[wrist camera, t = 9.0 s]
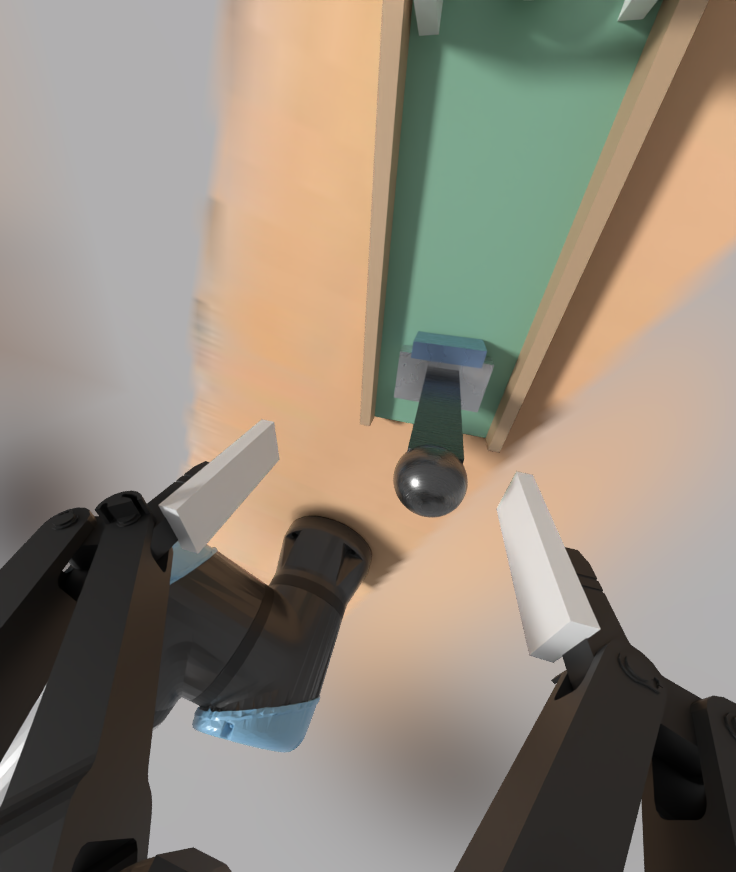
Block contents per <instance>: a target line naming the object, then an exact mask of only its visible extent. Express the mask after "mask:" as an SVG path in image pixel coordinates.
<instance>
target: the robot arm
mask: <svg viewBox="0 0 736 872" xmlns="http://www.w3.org/2000/svg"><path fill="white" fill-rule="evenodd" d="M278 460H279V453H278V446H277V439H276V433H275V426H274V422H272V421H267V420H261V421H259V422H258V423H257V424H256V425H255V426H253V427H252V428H251V429H250V430H248V431H247V432H246V433H245V434H244V435H242V436H241V437H240V438H239V439H238V440H236V441H235V442H234V443H233V444H232V445H230V446H229V447H228V448H227V449H226V450H224V451H223V452H222V453H221V454H219V455H218V456H217V457H216V458H215V459H213V460H212V461H211V462H207V461H205V462H203V463H201V464H199V465H197V466H194V467H193V468H192V469H190V470H189V471H188V472H187V473H185V474H184V476H182V477H180V478H179V479H178V480H177V481H176V482H174V483H173V484H172V485H170V486H169V487H168V488H167V489H165V490H164V491H163V492H161V493H160V494H159V495H158V496H157V497H155V498H154V499H152V500H151V501H150V502H149V503H146V502H145V500H144V498H143V497H142V495H141V494H140V493H138V492H136V491H125V492H121V493H117V494H114V495H112V496H110V497H108V498H106V499H105V500H104V501H102V502H101V503H100V504H99V505H98V506H97V507H96V509H95V511H96V512H97V514H98V515H99V516H94V515H93V514H92V513H91V512H90V510H88V509H86V508H73V509H69V510H66V511H63V512H61V513H59V514H57V515H55V516H53V517H52V518H50V519H49V520H48V521H46V522H45V523H44V524H43V525H42V526H41V527H40V528H39V529H38V530H37V531H36V532H35V533H34V534H33V535H32V536H31V538H30V539H29V540H28V541H27V542H26V543H25V544H24V545H23V546H22V547H21V548H20V549H19V550H18V551H17V552H16V553H15V554H14V555H13V557H12V558H11V559H10V560H9V561H8V562H7V563H6V564H5V565H4V566H3V567H2V568H1V569H0V872H231V870H230V869H229V867H228V866H227V865H226V864H224V863H223V862H221V861H219V860H217V859H215V858H213V857H211V856H209V855H207V854H205V853H203V852H201V851H199V850H197V849H195V848H188V849H183V850H179V851H173V852H169V853H163V854H158V855H156V856H155V857H152V858H149V859H147V855H148V845H149V834H150V825H151V814H152V796H151V790H150V786H149V782H148V764H149V756H150V748H151V739H152V731H153V730H154V729H156V728H157V727H158V726H159V725H160V724H161V723H162V722H163V720H164V719H165V718H166V717H167V715H168V714H169V712H170V711H171V710H172V708H173V707H174V705H175V704H176V702H177V701H178V700H179V699H180V698H181V697H183V698H185V699H187V700H189V701H192V702H193V703H196V704H197V705H199V706H200V707H198V708H197V710H196V712H195V717H194V720H193V724H192V725H193V728H194V729H196V730H198V731H200V732H203V733H206V734H209V735H212V736H215V737H219V738H223V739H227V740H231V741H233V742H237V743H240V744H244V745H248V746H253V747H257V748H261V749H267V750H271V751H278V752H290V751H292V750H294V749H295V748H297V747H298V746H299V745H300V744H301V742H302V741H303V739H304V737H305V735H306V732H307V729H308V727H309V724H310V721H311V719H312V716H313V713H314V711H315V708H316V705H317V704H318V702H319V700H320V692H321V688H322V685H323V682H324V678H325V675H326V672H327V668H328V665H329V662H330V658H331V655H332V652H333V648H334V645H335V642H336V639H337V635H338V632H339V628H340V625H341V622H342V618H343V615H344V612H345V609H346V606H347V604H348V602H349V601H350V599H351V598H352V596H353V595H354V593H355V592H356V590H357V589H358V587H359V586H360V584H361V583H362V581H363V580H364V578H365V577H366V575H367V573H368V571H369V567H370V563H371V559H372V554H371V550H370V548H369V546H368V545H367V543H366V542H365V541H364V539H363V538H362V537H361V536H360V535H358V534H357V533H356V532H355V531H353V530H352V529H350V528H349V527H347V526H345V525H343V524H341V523H339V522H337V521H334V520H331V519H327V518H323V517H316V516H308V517H302V518H299V519H297V520H295V521H294V522H293V523H292V525H291V526H290V528H289V529H288V531H287V533H286V535H285V537H284V540H283V545H282V549H281V553H280V557H279V561H278V566H277V570H276V573H275V575H274V577H273V579H272V581H271V583H270V584H269V586H268V585H266V584H265V583H264V582H262V581H261V580H259V579H258V578H256V577H255V576H253V575H252V574H250V573H249V572H247V571H246V570H244V569H243V568H242V567H240V566H239V565H237V564H236V563H234V562H233V561H231V560H230V559H228V558H227V557H225V556H224V555H223V554H221V553H220V552H218V550H217V549H216V548H215V547H210V546H208V545H207V543H208V542H209V540H210V539H211V538H212V537H213V536H214V535H215V534H216V532H217V531H218V530H219V529H220V528H221V527H222V525H223V524H224V523H225V522H226V521H227V520H228V518H229V517H230V516H231V515H232V514H233V513H234V511H235V510H236V509H237V508H238V507H239V506H240V505H241V503H242V502H243V501H244V500H245V499H246V498H247V496H248V495H249V494H250V493H251V492H252V491H253V489H254V488H255V487H256V486H257V485H258V484H259V482H260V481H261V480H262V479H263V478H264V477H265V475H266V474H267V473H268V472H269V471H270V470H271V469H272V467H273V466H274V465H275V464H276V463H277V462H278ZM497 513H498V518H499V522H500V526H501V531H502V535H503V540H504V544H505V549H506V553H507V558H508V562H509V567H510V571H511V576H512V580H513V585H514V589H515V593H516V598H517V602H518V607H519V611H520V616H521V620H522V624H523V629H524V634H525V638H526V643H527V647H528V651H529V655H530V656H533V657H536V658H540V659H543V660H546V661H549V662H553V663H554V662H555V661H556V660H558V659H560V658H561V657H562V656H563V660H564V663H565V666H566V669H567V670H566V671H564V672H562V673H561V674H559V675H557V676H556V677H555V678H554V679H552V680H551V681H552V682H553V683H554V684H556V683H557V684H556V686H555V688H554V690H553V691H552V693H551V695H550V697H549V699H548V701H547V702H546V704H545V706H544V708H543V710H542V712H541V714H540V715H539V717H538V719H537V721H536V722H535V724H534V726H533V728H532V730H531V732H530V734H529V735H528V737H527V739H526V741H525V743H524V745H523V746H522V748H521V750H520V752H519V754H518V755H517V757H516V759H515V761H514V763H513V765H512V767H511V769H510V770H509V772H508V774H507V776H506V777H505V779H504V781H503V783H502V785H501V787H500V789H499V790H498V792H497V794H496V796H495V798H494V799H493V801H492V803H491V805H490V807H489V809H488V811H487V812H486V814H485V816H484V818H483V820H482V821H481V823H480V825H479V827H478V829H477V831H476V832H475V834H474V836H473V838H472V840H471V842H470V843H469V845H468V847H467V849H466V851H465V853H464V855H463V856H462V858H461V860H460V862H459V864H458V866H457V867H456V869H455V871H454V872H623V870H624V866H625V862H626V858H627V854H628V850H629V846H630V842H631V838H632V834H633V830H634V826H635V822H636V818H637V814H638V810H639V806H640V802H641V799H642V822H643V846H644V866H645V867H644V869H645V872H736V703H734V702H731V701H730V700H728V699H726V698H724V697H718V696H711V697H708V698H705V699H701V698H699V697H698V696H696V695H694V694H692V693H691V692H689V691H687V690H685V689H684V688H682V687H680V686H678V685H677V684H675V683H673V682H672V681H670V680H668V679H666V678H665V677H663V676H662V675H661V674H660V672H659V671H658V670H657V668H656V667H655V666H654V664H653V663H652V662H651V661H650V660H649V659H648V658H647V657H646V656H645V655H644V654H643V653H642V652H640V651H639V650H637V649H636V648H635V647H633V646H632V645H631V644H630V643H629V641H628V639H627V638H626V636H625V633H624V631H623V629H622V627H621V626H620V623H619V621H618V619H617V618H616V616H615V613H614V611H613V609H612V608H611V606H610V603H609V601H608V600H607V597H606V595H605V594H604V593H603V592H602V591H603V589H602V587H601V586H600V583H599V582H598V581H597V577H596V576H595V573H594V571H593V569H592V568H591V565H590V564H589V562H588V561H587V560H586V559H585V558H584V557H583V556H582V554H581V553H580V552H579V551H578V550H575V549H570V548H566V547H564V545H563V542H562V540H561V538H560V536H559V533H558V531H557V529H556V527H555V524H554V522H553V520H552V517H551V515H550V513H549V510H548V508H547V506H546V504H545V502H544V499H543V497H542V495H541V492H540V490H539V488H538V486H537V483H536V481H535V479H534V476H533V475H531V474H526V473H522V472H517V471H516V473H515V475H514V477H513V479H512V481H511V482H510V485H509V486H508V488H507V490H506V492H505V494H504V496H503V498H502V499H501V501H500V503H499V505H498V507H497ZM68 562H69V563H70V564H71V565H70V566H69V568H68V569H67V570H66V571H65V572H63V571H62V570H63V569H64V567H65V566H66V565H67V563H68ZM42 691H43V695H42V696H41V697H40V698H39V696H40V694H41V692H42ZM38 698H39V699H38ZM37 699H38V700H37Z"/></svg>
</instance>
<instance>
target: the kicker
mask: <svg viewBox="0 0 736 872" xmlns="http://www.w3.org/2000/svg"><path fill="white" fill-rule="evenodd" d="M486 354H487V349H486V347H485V344H484V341H483V340H482V339H474V338H467V337H459V336H451V335H444V334H436V333H428V332H421V331H418V333H417V335H416V337H415V339H414V341H413V346H410V345H403V347H402V349H401V351H400V356H399V363H398V370H397V378H396V385H395V392H394V398H399V399H405V400H410V401H416V402H419V404H418V409H417V413H416V417H415V421H414V425H413V430H412V434H411V438H410V442H409V446H408V451H407V452H406V453H405V454H404V455H403V456H402V457H401V458H400V460H399V461H398V463H397V465H396V468H395V471H394V478H393V481H394V488H395V491H396V494H397V496H398V498H399V500H400V501H401V502H402V504H403V505H404V506H405V507H406V508H407V509H409V510H410V511H412V512H413V513H415V514H418V515H420V516H424V517H440V516H443V515H446V514H448V513H450V512H452V511H453V510H454V509H456V508H457V507H458V506H459V504H460V503H461V502H462V500H463V498H464V496H465V494H466V490H467V474H466V471H465V468H464V466H463V461H464V451H463V433H462V414H461V410H466V411H472V412H478V410H479V407H480V404H481V401H482V398H483V396H484V393H485V390H486V387H487V385H488V382H489V379H490V376H491V373H492V371H493V368H494V363H493V360H492V358H491V357H488V356H486Z"/></svg>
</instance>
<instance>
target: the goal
mask: <svg viewBox="0 0 736 872" xmlns="http://www.w3.org/2000/svg"><path fill="white" fill-rule="evenodd" d="M657 1H658V0H625V1H624V4H623V6H622V9H621V12H620V15H619V18H618V20H617V21H626V20H640V19H643V18H644V17H645V16H646V14H647V13H648V12H649V11H650V9H651V8H652V7H653V6H654V4H655V3H656V2H657ZM442 5H443V0H414V6H415V13H416V19H417V26H418V32H419V36H425V35H439V28H440V21H441V13H442Z"/></svg>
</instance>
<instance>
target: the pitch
mask: <svg viewBox="0 0 736 872" xmlns="http://www.w3.org/2000/svg"><path fill="white" fill-rule="evenodd" d="M624 1H625V0H443V5H442V13H441V21H440V28H439V35H425V36H419V32H418V26H417V19H416V13H415V6H414V0H383V5H382V24H381V42H380V61H379V79H378V98H377V116H376V135H375V153H374V172H373V190H372V209H371V227H370V246H369V264H368V283H367V301H366V320H365V338H364V357H363V376H362V394H361V413H360V424H361V425H366V426H370V425H371V423H372V421H373V419H374V417H375V416H376V417H381V418H386V419H391V420H396V421H401V422H406V423H412V424H414V421H415V417H416V413H417V409H418V404H419V402H416V401H410V400H405V399H399V398H394V392H395V385H396V378H397V370H398V363H399V356H400V351H401V349H402V347H403V345H410V346H413V341H414V339H415V337H416V335H417V333H418V331H421V332H428V333H436V334H444V335H451V336H459V337H467V338H474V339H482V340H483V341H484V344H485V347H486V349H487V354H486V356H488V357H491V358H492V360H493V363H494V368H493V371H492V373H491V376H490V379H489V382H488V385H487V387H486V390H485V393H484V396H483V398H482V401H481V404H480V407H479V410H478V412H472V411H466V410H461V414H462V433H463V434H468V435H473V436H478V437H483V438H486V443H487V449H488V450H489V451H494V452H499V453H500V451H501V448H502V446H503V444H504V442H505V440H506V438H507V435H508V433H509V431H510V429H511V427H512V425H513V422H514V420H515V418H516V416H517V414H518V412H519V410H520V407H521V405H522V403H523V401H524V399H525V397H526V394H527V392H528V390H529V388H530V386H531V384H532V381H533V379H534V377H535V375H536V373H537V371H538V368H539V366H540V364H541V362H542V360H543V358H544V356H545V353H546V351H547V349H548V347H549V345H550V343H551V340H552V338H553V336H554V334H555V332H556V330H557V327H558V325H559V323H560V321H561V319H562V317H563V315H564V312H565V310H566V308H567V306H568V304H569V302H570V299H571V297H572V295H573V293H574V291H575V289H576V286H577V284H578V282H579V280H580V278H581V276H582V273H583V271H584V269H585V267H586V265H587V263H588V261H589V258H590V256H591V254H592V252H593V250H594V248H595V245H596V243H597V241H598V239H599V237H600V235H601V232H602V230H603V228H604V226H605V224H606V222H607V220H608V217H609V215H610V213H611V211H612V209H613V207H614V204H615V202H616V200H617V198H618V196H619V194H620V191H621V189H622V187H623V185H624V183H625V181H626V178H627V176H628V174H629V172H630V170H631V168H632V166H633V163H634V161H635V159H636V157H637V155H638V153H639V150H640V148H641V146H642V144H643V142H644V140H645V137H646V135H647V133H648V131H649V129H650V127H651V125H652V122H653V120H654V118H655V116H656V114H657V112H658V109H659V107H660V105H661V103H662V101H663V99H664V96H665V94H666V92H667V90H668V88H669V86H670V84H671V81H672V79H673V77H674V75H675V73H676V71H677V68H678V66H679V64H680V62H681V60H682V58H683V55H684V53H685V51H686V49H687V47H688V45H689V42H690V40H691V38H692V36H693V34H694V32H695V30H696V27H697V25H698V23H699V21H700V19H701V17H702V14H703V12H704V10H705V8H706V6H707V4H708V1H709V0H658V1H657V2H656V3H655V4H654V6H653V7H652V8H651V9H650V11H649V12H648V13H647V14H646V16H645V17H644V18H643V19H640V20H626V21H617V20H618V18H619V15H620V12H621V9H622V6H623V4H624Z"/></svg>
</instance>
